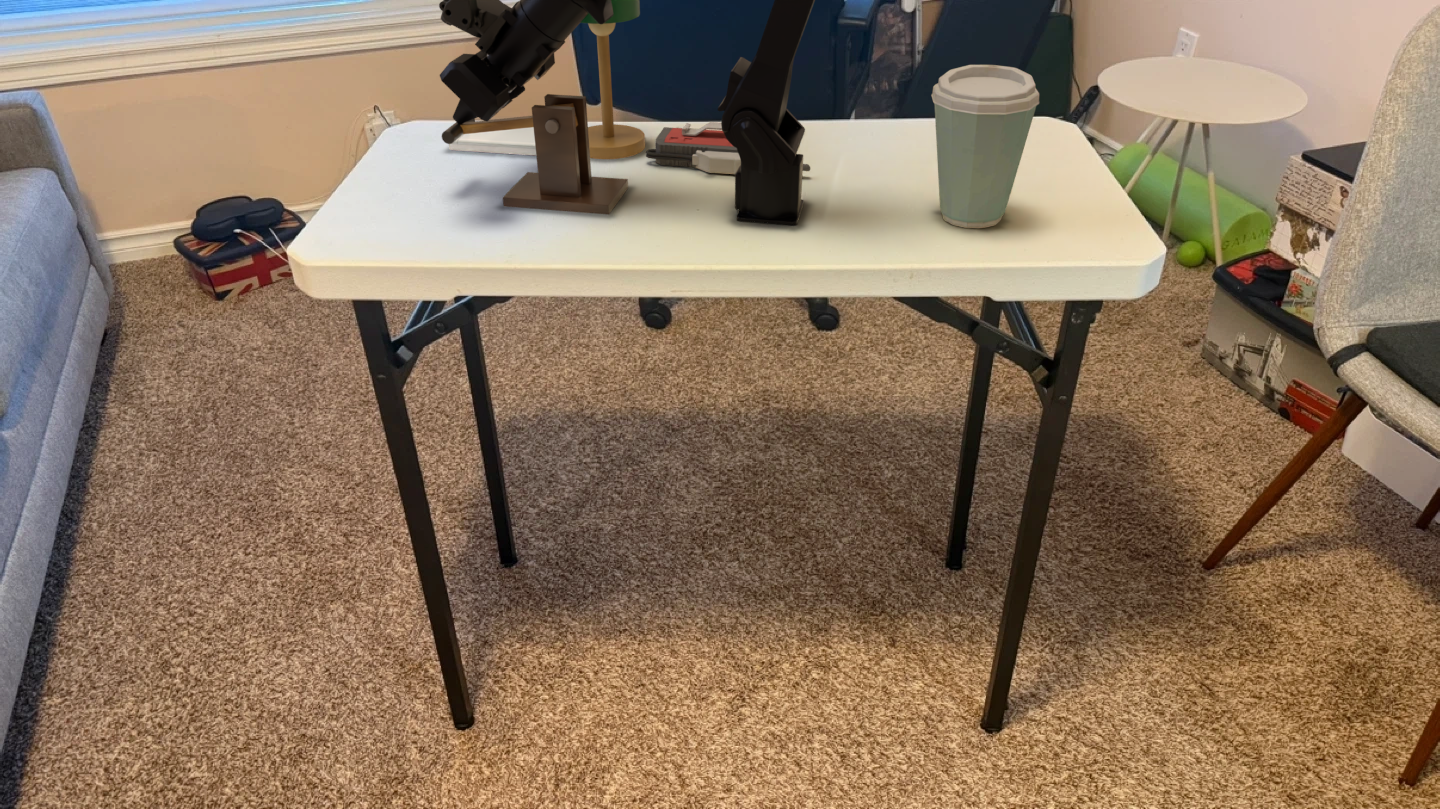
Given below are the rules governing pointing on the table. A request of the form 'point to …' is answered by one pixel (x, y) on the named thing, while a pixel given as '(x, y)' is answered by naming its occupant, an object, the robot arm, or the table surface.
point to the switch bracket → (564, 164)
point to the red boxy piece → (697, 149)
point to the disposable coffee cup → (980, 139)
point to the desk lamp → (610, 136)
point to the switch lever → (490, 126)
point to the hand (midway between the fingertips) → (457, 120)
